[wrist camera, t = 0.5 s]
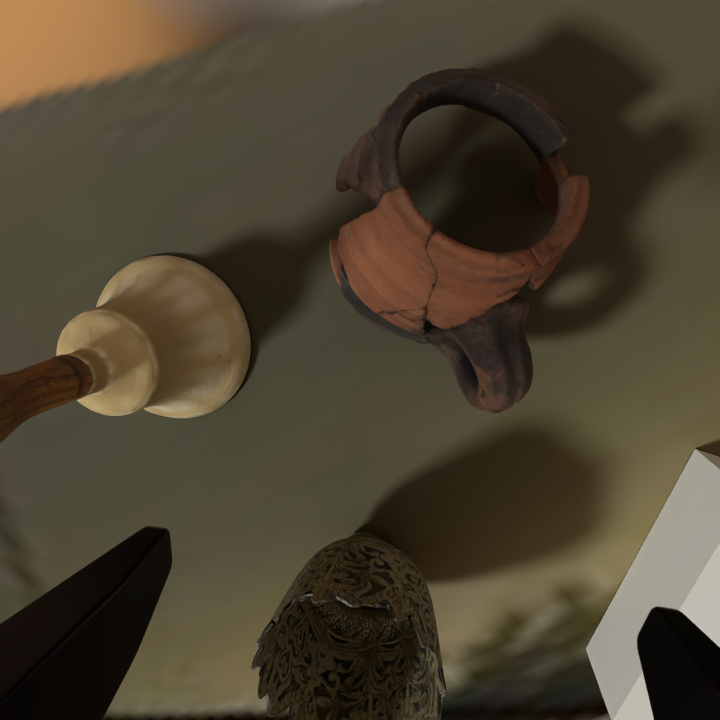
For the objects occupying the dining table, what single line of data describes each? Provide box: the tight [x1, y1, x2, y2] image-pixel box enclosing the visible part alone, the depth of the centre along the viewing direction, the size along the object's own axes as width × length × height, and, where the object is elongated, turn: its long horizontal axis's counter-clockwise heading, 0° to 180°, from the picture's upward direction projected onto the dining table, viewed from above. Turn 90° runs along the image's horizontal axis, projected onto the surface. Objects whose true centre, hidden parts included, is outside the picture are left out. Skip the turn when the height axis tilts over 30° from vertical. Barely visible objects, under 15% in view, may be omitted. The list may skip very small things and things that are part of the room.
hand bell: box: [0, 255, 251, 443], centre depth 17 cm, size 8×8×16 cm
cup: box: [251, 531, 447, 720], centre depth 22 cm, size 7×7×8 cm
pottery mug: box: [329, 68, 590, 413], centre depth 19 cm, size 12×10×8 cm
